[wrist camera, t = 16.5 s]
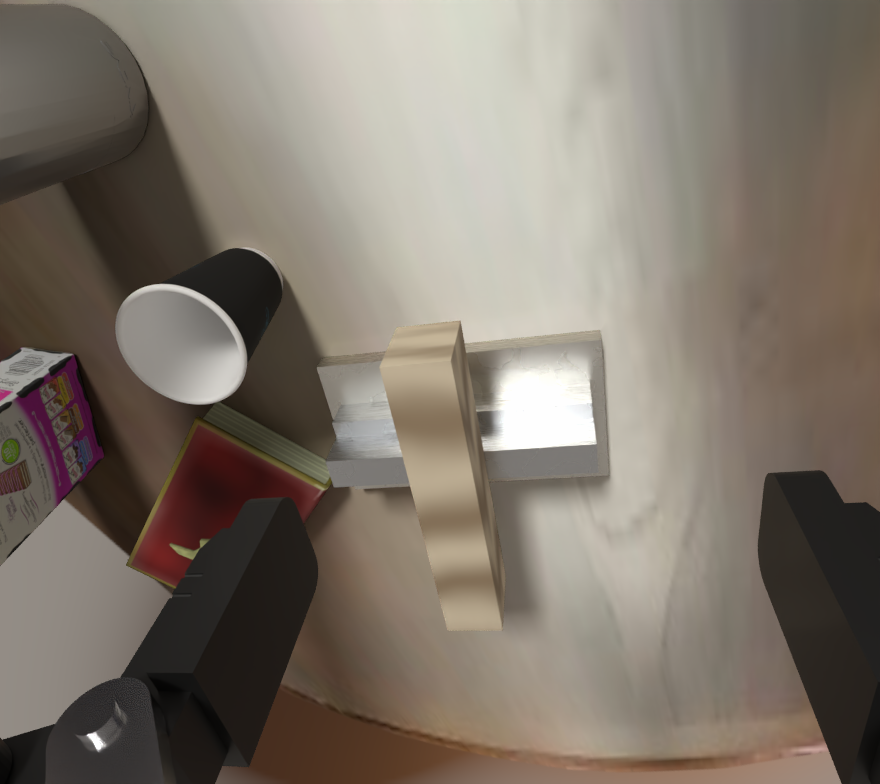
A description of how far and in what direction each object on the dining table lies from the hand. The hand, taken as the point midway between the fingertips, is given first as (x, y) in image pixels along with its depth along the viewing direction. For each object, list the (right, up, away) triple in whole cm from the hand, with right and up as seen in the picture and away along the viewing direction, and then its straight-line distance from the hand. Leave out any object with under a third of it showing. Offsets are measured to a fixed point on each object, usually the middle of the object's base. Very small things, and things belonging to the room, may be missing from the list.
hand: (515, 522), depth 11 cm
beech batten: (0, -3, +33) cm, 33 cm away
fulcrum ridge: (+1, +1, +39) cm, 39 cm away
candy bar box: (-34, +1, +44) cm, 56 cm away
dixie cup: (-15, +11, +35) cm, 40 cm away
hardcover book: (-20, -8, +48) cm, 53 cm away
